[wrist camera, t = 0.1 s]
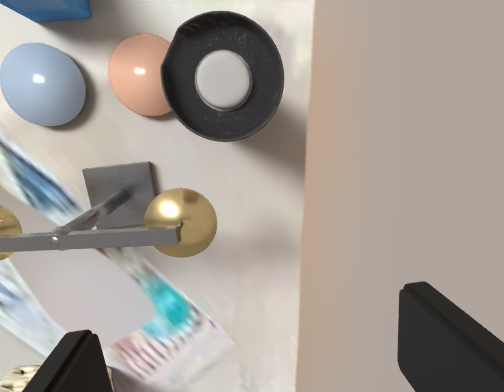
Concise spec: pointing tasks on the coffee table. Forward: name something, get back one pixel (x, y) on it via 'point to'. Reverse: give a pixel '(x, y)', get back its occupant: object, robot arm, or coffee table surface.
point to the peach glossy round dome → (139, 74)
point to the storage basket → (25, 379)
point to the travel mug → (222, 76)
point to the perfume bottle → (50, 9)
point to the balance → (123, 217)
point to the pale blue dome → (42, 84)
